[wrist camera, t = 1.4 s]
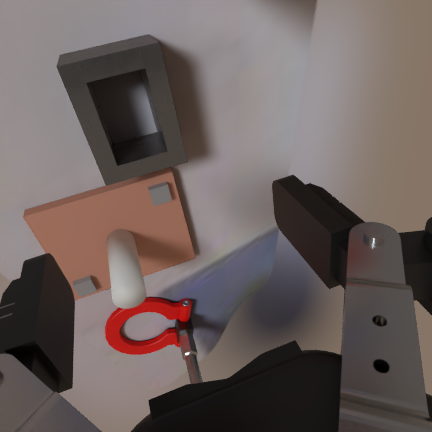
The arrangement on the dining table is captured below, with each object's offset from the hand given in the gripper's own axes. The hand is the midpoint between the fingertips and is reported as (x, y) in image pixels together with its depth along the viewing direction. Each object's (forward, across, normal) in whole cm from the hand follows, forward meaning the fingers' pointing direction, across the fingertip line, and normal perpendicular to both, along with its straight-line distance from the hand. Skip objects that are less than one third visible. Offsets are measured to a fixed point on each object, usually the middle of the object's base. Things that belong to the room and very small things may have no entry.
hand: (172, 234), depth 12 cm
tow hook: (+18, +5, +24) cm, 30 cm away
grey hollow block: (+17, 0, 0) cm, 17 cm away
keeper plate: (+17, +4, +11) cm, 20 cm away
